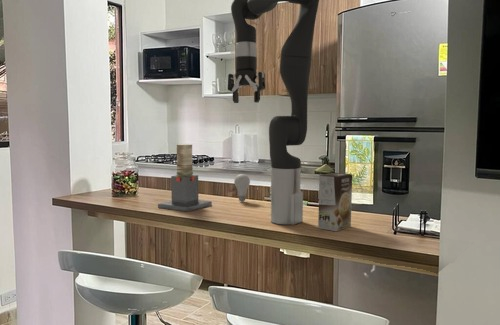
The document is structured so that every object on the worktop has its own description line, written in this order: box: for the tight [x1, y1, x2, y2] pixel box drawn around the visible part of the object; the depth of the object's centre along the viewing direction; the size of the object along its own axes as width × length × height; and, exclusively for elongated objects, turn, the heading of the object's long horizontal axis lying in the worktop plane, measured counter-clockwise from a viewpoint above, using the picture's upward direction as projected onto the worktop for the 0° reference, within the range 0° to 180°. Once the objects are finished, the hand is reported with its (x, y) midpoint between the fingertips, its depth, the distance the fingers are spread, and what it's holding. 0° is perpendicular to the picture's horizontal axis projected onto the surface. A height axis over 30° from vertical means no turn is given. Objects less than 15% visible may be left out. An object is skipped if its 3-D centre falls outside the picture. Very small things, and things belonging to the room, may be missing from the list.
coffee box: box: [317, 172, 353, 232], centre depth 134 cm, size 9×6×16 cm
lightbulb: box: [233, 173, 251, 203], centre depth 176 cm, size 6×6×11 cm
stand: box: [157, 174, 213, 213], centre depth 167 cm, size 14×14×12 cm
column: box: [176, 143, 194, 177], centre depth 166 cm, size 4×4×16 cm
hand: (246, 102), depth 160 cm, fingers open, 8 cm apart
